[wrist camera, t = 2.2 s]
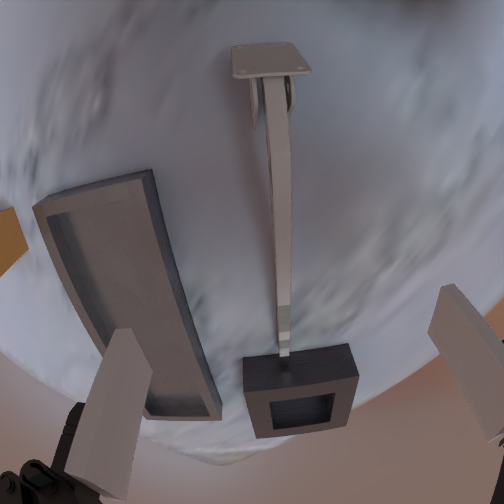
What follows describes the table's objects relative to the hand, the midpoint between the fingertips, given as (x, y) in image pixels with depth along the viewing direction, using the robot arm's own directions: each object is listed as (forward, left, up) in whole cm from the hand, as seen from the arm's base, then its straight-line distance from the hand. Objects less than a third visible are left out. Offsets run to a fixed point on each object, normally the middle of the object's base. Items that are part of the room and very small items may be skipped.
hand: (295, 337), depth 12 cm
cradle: (+8, -12, -10) cm, 17 cm away
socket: (+18, +1, -10) cm, 20 cm away
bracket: (0, 0, -11) cm, 11 cm away
